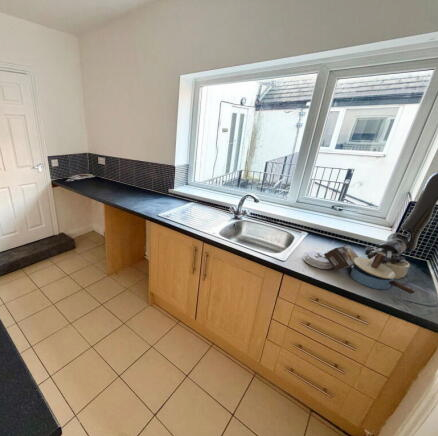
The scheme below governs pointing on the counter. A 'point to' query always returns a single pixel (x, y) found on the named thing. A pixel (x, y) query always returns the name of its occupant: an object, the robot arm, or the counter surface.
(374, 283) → the pan
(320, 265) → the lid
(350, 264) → the coffee box
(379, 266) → the pot lid
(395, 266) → the pot
